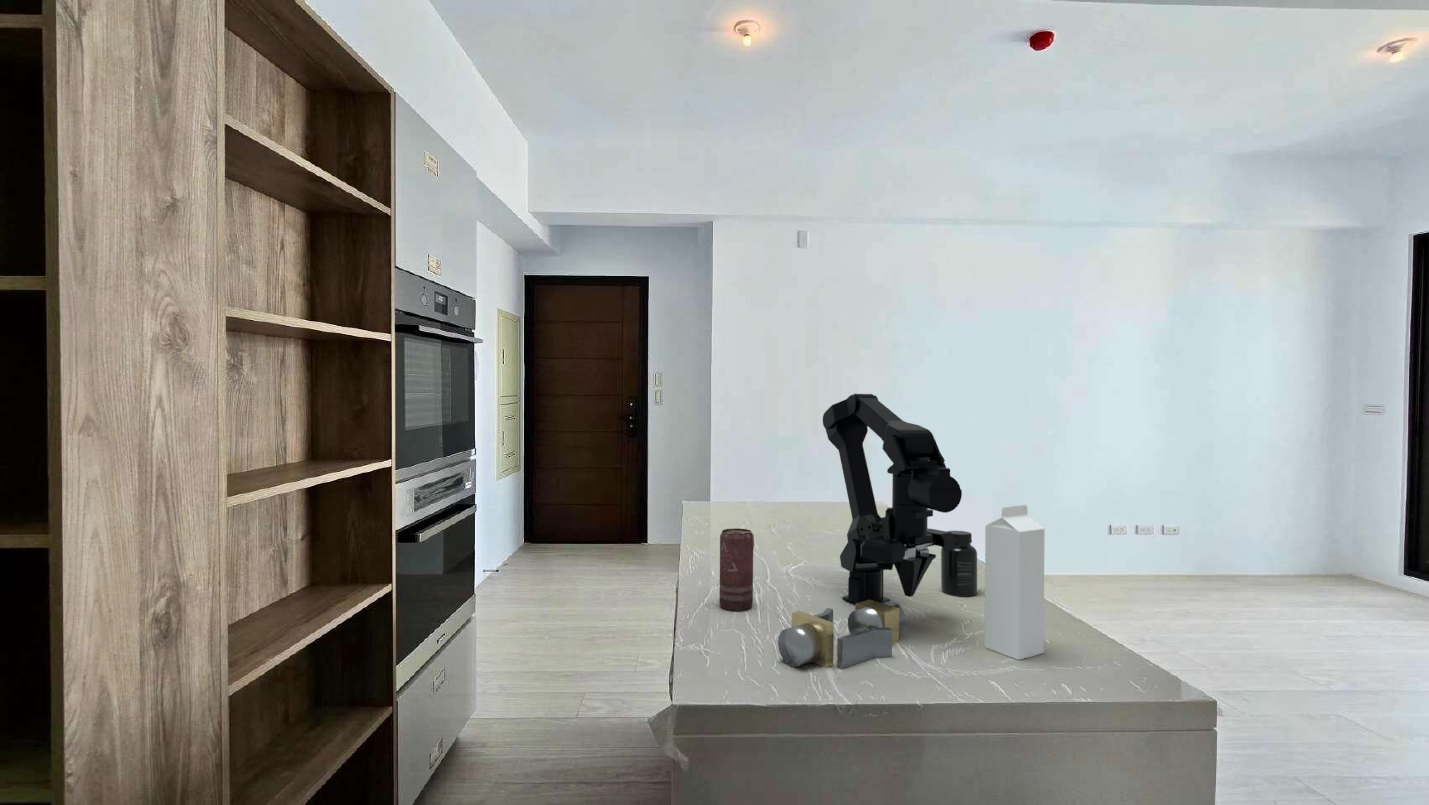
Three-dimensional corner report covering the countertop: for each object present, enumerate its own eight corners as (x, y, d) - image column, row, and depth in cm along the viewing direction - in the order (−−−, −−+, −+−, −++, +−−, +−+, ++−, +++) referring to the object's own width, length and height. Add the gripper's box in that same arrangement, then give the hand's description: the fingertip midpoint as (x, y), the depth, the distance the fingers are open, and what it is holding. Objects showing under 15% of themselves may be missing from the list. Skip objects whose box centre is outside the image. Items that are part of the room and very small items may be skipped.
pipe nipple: (878, 628, 111) (878, 597, 111) (907, 638, 106) (907, 605, 106) (846, 638, 106) (846, 605, 106) (875, 649, 101) (875, 615, 101)
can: (751, 612, 118) (752, 534, 118) (716, 610, 120) (717, 532, 120) (756, 603, 124) (756, 528, 124) (722, 600, 126) (723, 526, 126)
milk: (1044, 654, 100) (1046, 507, 100) (1018, 661, 97) (1020, 510, 97) (1008, 641, 105) (1010, 502, 105) (983, 647, 102) (985, 504, 102)
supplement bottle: (980, 591, 134) (980, 531, 134) (973, 599, 128) (973, 537, 128) (945, 586, 137) (945, 528, 137) (936, 593, 132) (937, 533, 132)
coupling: (828, 632, 109) (829, 595, 109) (893, 655, 98) (894, 615, 98) (760, 652, 99) (760, 612, 99) (824, 681, 89) (824, 636, 89)
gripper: (903, 493, 123) (902, 577, 123) (835, 501, 112) (835, 594, 112) (957, 500, 115) (956, 591, 115) (890, 510, 103) (889, 611, 103)
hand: (909, 596), depth 111 cm, fingers closed
